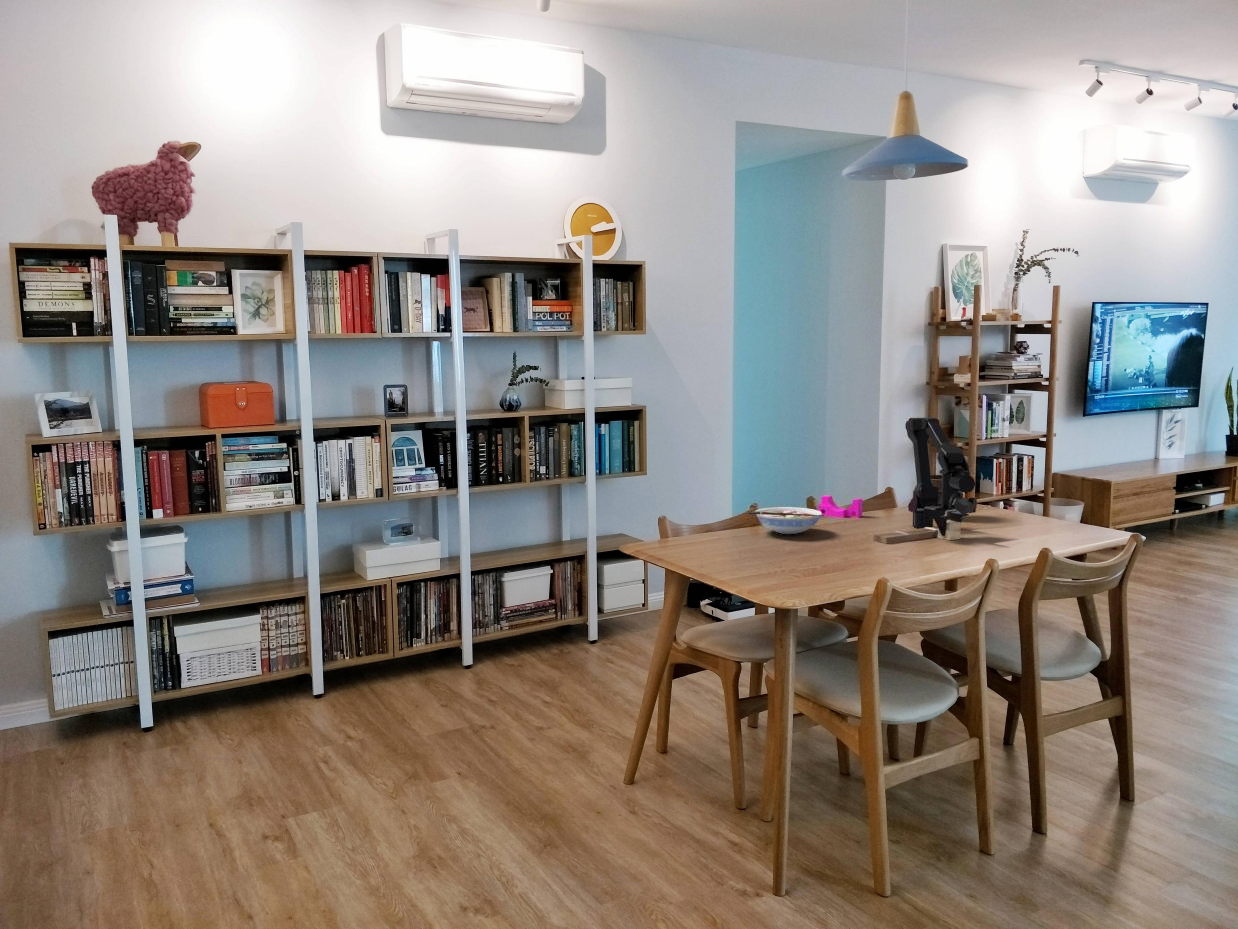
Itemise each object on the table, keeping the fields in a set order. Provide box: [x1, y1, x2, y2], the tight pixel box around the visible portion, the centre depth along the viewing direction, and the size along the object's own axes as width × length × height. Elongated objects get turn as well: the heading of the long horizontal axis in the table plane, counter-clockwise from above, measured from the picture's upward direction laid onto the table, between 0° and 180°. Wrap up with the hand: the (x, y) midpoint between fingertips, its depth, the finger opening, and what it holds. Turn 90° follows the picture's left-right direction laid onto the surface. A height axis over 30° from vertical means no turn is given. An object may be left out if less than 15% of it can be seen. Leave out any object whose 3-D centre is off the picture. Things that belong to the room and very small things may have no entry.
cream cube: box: [934, 520, 962, 541], centre depth 323 cm, size 6×5×6 cm
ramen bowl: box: [748, 506, 825, 535], centre depth 334 cm, size 25×23×8 cm
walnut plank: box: [872, 526, 938, 545], centre depth 324 cm, size 6×28×2 cm, turn 119°
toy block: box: [817, 494, 864, 519], centre depth 365 cm, size 15×6×8 cm, turn 52°
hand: (948, 535), depth 323 cm, fingers closed on cream cube, 5 cm apart
